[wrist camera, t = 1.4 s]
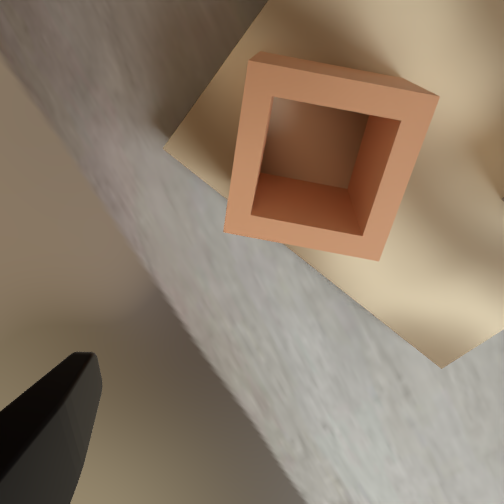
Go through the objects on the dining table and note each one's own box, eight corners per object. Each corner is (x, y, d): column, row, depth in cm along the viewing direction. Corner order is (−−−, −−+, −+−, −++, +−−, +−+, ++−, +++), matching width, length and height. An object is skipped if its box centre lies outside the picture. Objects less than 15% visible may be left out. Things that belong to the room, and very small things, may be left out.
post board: (385, -158, 15) (429, -247, 10) (674, 191, 20) (796, 244, 15) (171, 140, 21) (133, 175, 16) (434, 351, 26) (466, 426, 21)
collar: (260, 51, 17) (248, 60, 13) (402, 78, 17) (440, 96, 13) (239, 186, 20) (223, 232, 16) (360, 209, 20) (378, 261, 16)
